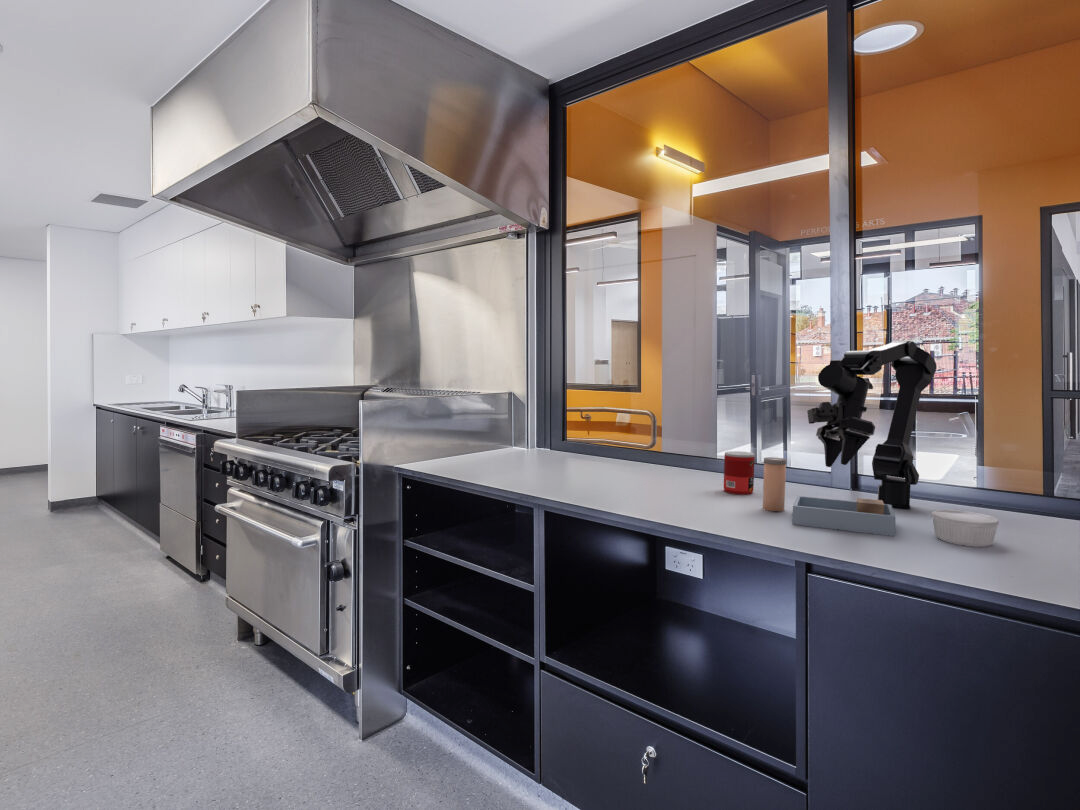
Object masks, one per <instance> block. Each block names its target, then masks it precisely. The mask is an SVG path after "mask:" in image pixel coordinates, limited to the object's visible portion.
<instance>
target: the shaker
mask: <svg viewBox="0 0 1080 810" xmlns="http://www.w3.org/2000/svg"><path fill="white" fill-rule="evenodd" d="M787 461H788V460H787V459H786V458H783V457H771V456H770V457H763V482H762V483H763V485H762V487H763V488H762V490H763V491H762V510H764V509H765V510H764V511H767V510H769V511H768V512H772V511H778V512H777V513H782V512H785V502H786V474H787V472H786V471H787ZM781 511H782V512H781Z"/></svg>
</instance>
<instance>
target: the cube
mask: <svg viewBox="0 0 1080 810" xmlns="http://www.w3.org/2000/svg"><path fill="white" fill-rule="evenodd" d="M856 501H857V512H863V513H872V514H882V515H884V503H883V500H878V499H872V498H871V499H870V498H861V497H857V498H856Z"/></svg>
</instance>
